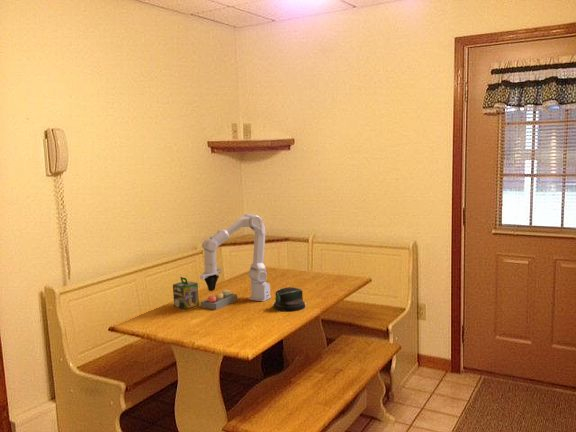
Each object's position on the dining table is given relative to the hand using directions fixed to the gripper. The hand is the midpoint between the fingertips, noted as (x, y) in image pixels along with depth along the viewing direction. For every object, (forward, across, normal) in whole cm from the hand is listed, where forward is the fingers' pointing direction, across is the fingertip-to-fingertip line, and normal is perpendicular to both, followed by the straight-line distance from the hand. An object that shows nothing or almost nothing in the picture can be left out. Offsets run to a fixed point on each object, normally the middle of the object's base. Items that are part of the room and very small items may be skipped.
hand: (211, 290), depth 266 cm
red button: (+6, 0, 0) cm, 6 cm away
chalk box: (+9, +4, -13) cm, 16 cm away
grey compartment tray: (+8, -6, 0) cm, 10 cm away
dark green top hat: (+9, -16, +34) cm, 39 cm away
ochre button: (+6, -6, 0) cm, 9 cm away
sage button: (+6, -12, 0) cm, 14 cm away
